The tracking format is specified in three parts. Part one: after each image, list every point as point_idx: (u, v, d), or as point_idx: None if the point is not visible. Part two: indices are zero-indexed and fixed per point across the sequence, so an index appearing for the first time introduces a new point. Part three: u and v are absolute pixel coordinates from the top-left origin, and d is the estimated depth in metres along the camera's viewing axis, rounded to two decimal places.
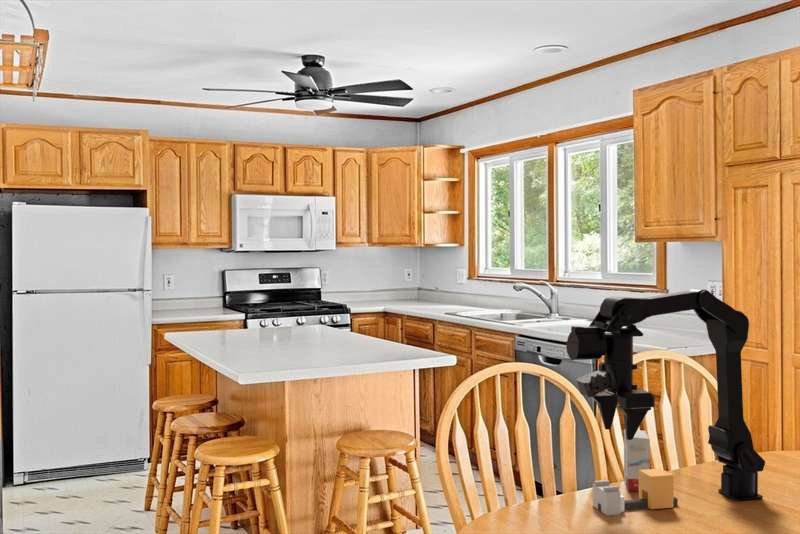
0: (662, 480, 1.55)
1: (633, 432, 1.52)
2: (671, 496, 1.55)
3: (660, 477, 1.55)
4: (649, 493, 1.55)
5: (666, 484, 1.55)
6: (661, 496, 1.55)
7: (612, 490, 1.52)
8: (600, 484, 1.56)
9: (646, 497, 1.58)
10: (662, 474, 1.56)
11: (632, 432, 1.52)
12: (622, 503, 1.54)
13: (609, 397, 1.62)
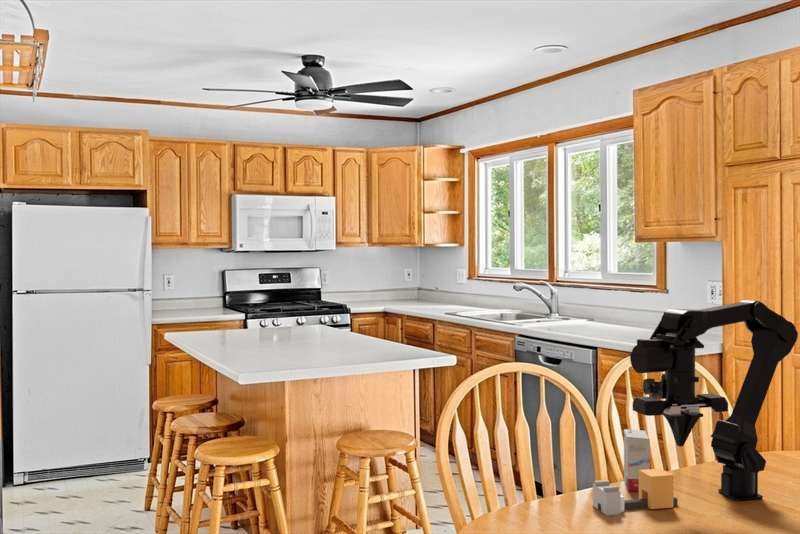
0: (662, 480, 1.55)
1: (677, 438, 1.57)
2: (671, 496, 1.55)
3: (660, 477, 1.55)
4: (649, 493, 1.55)
5: (666, 484, 1.55)
6: (661, 496, 1.55)
7: (612, 490, 1.52)
8: (600, 484, 1.56)
9: (646, 497, 1.58)
10: (662, 474, 1.56)
11: (677, 438, 1.58)
12: (622, 503, 1.54)
13: (685, 414, 1.57)
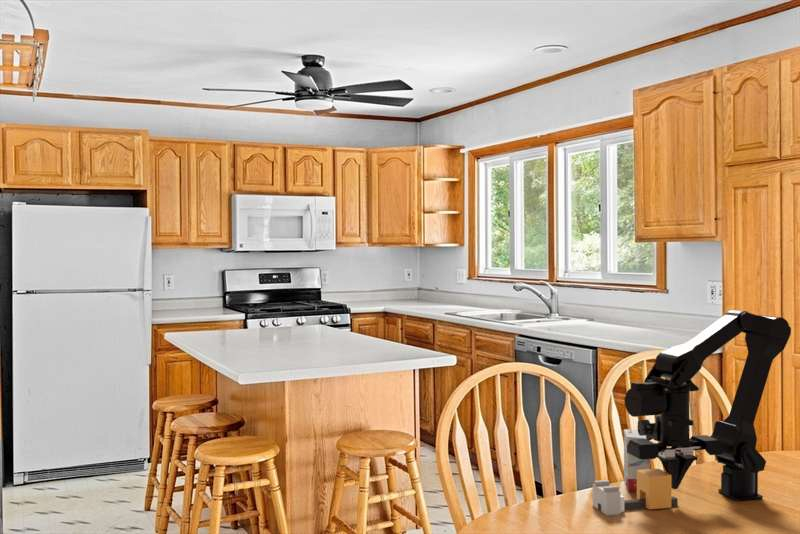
0: (660, 480, 1.55)
1: (671, 481, 1.57)
2: (669, 496, 1.55)
3: (658, 477, 1.54)
4: (647, 493, 1.55)
5: (664, 485, 1.55)
6: (659, 496, 1.55)
7: (612, 490, 1.52)
8: (600, 484, 1.56)
9: (644, 497, 1.58)
10: (660, 474, 1.55)
11: (671, 481, 1.57)
12: (622, 503, 1.54)
13: (679, 457, 1.57)
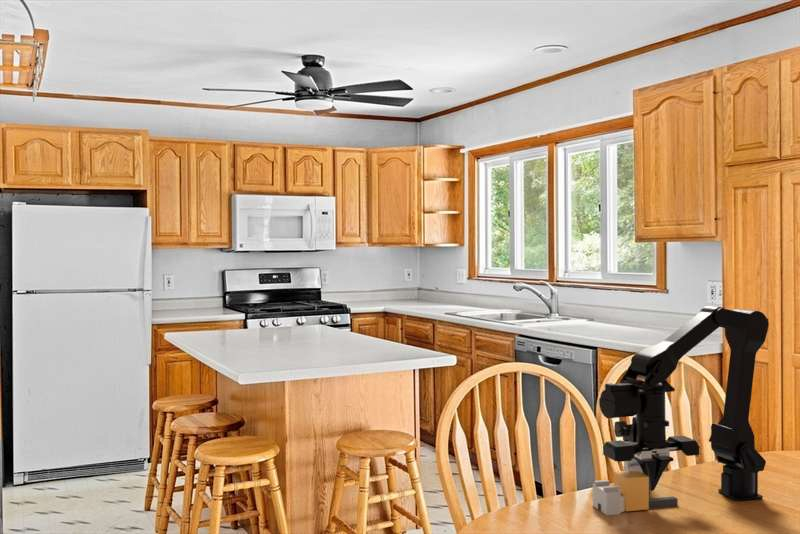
0: (637, 481, 1.53)
1: (649, 482, 1.56)
2: (646, 498, 1.54)
3: (635, 479, 1.53)
4: (624, 495, 1.54)
5: (641, 486, 1.54)
6: (637, 498, 1.54)
7: (612, 490, 1.52)
8: (600, 484, 1.56)
9: None
10: (637, 476, 1.54)
11: None
12: (622, 503, 1.54)
13: (655, 458, 1.56)
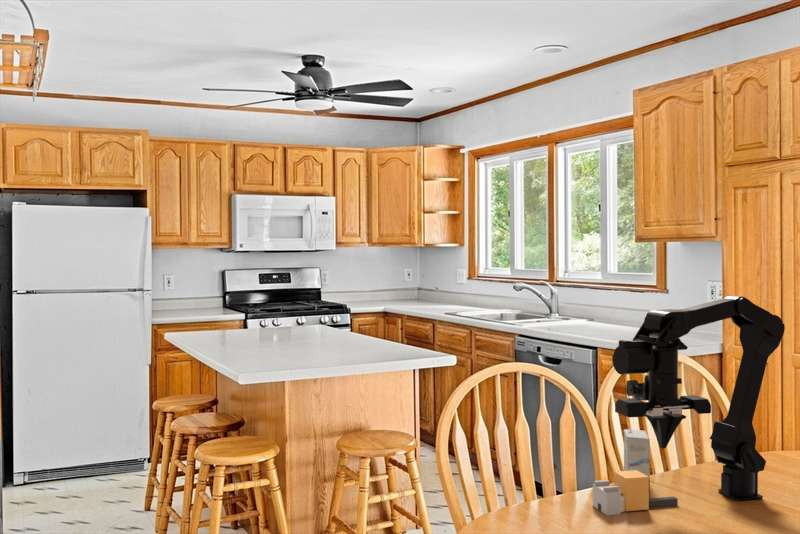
0: (637, 481, 1.53)
1: (660, 440, 1.56)
2: (646, 498, 1.54)
3: (635, 479, 1.53)
4: (624, 495, 1.54)
5: (641, 486, 1.54)
6: (637, 498, 1.54)
7: (612, 490, 1.52)
8: (600, 484, 1.56)
9: None
10: (637, 476, 1.54)
11: (659, 440, 1.57)
12: (622, 503, 1.54)
13: (667, 416, 1.56)
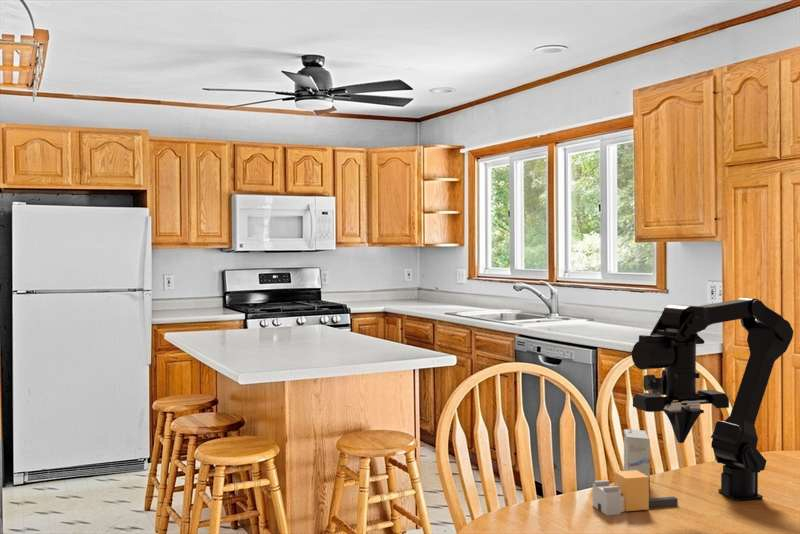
0: (637, 481, 1.53)
1: (678, 435, 1.56)
2: (646, 498, 1.54)
3: (635, 479, 1.53)
4: (624, 495, 1.54)
5: (641, 486, 1.54)
6: (637, 498, 1.54)
7: (612, 490, 1.52)
8: (600, 484, 1.56)
9: None
10: (637, 476, 1.54)
11: (677, 435, 1.56)
12: (622, 503, 1.54)
13: (685, 410, 1.56)
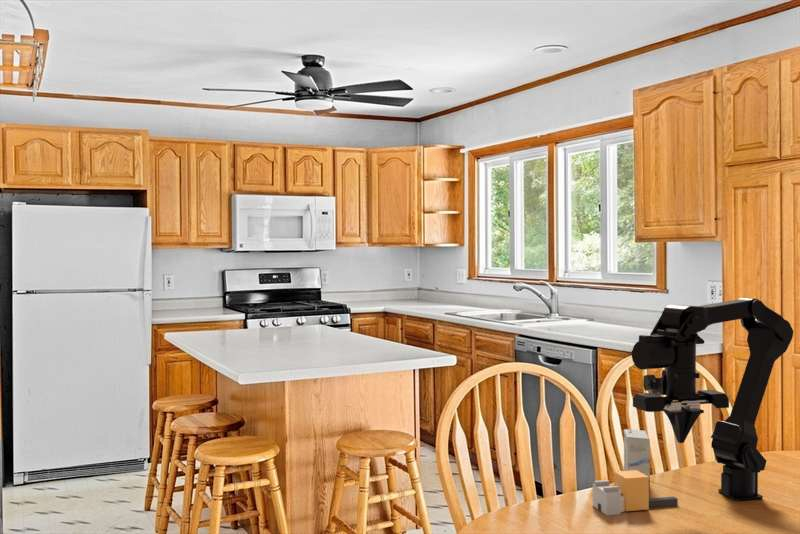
0: (637, 481, 1.53)
1: (678, 435, 1.56)
2: (646, 498, 1.54)
3: (635, 479, 1.53)
4: (624, 495, 1.54)
5: (641, 486, 1.54)
6: (637, 498, 1.54)
7: (612, 490, 1.52)
8: (600, 484, 1.56)
9: None
10: (637, 476, 1.54)
11: (677, 435, 1.56)
12: (622, 503, 1.54)
13: (685, 410, 1.56)
